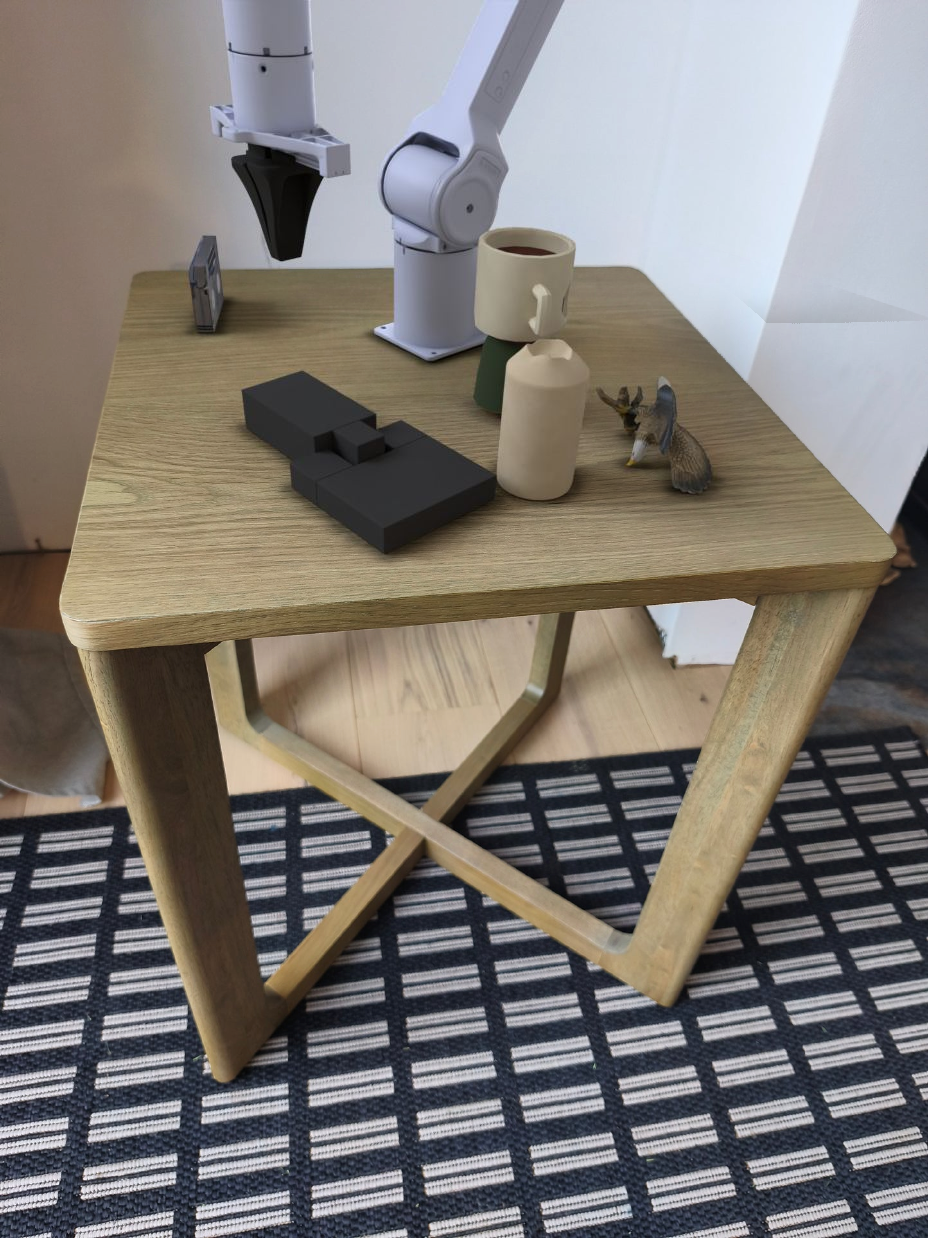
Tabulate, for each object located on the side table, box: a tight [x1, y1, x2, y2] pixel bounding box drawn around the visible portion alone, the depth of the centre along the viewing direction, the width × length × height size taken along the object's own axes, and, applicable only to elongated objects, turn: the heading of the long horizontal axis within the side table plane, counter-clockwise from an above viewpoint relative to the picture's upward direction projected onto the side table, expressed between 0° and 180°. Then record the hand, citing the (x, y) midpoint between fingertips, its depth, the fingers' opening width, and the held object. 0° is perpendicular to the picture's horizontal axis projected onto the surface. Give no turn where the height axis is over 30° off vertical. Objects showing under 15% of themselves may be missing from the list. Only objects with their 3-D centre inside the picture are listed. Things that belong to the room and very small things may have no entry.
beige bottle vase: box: [496, 338, 591, 501], centre depth 58 cm, size 6×6×10 cm
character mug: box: [472, 226, 577, 414], centre depth 66 cm, size 11×7×13 cm, turn 14°
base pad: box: [289, 419, 498, 555], centre depth 59 cm, size 10×10×2 cm
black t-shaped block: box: [241, 370, 385, 466], centre depth 62 cm, size 6×12×3 cm, turn 44°
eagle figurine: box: [595, 375, 713, 495], centre depth 63 cm, size 8×7×9 cm
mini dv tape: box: [188, 234, 225, 333], centre depth 79 cm, size 8×2×6 cm, turn 6°
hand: (286, 256), depth 67 cm, fingers closed
